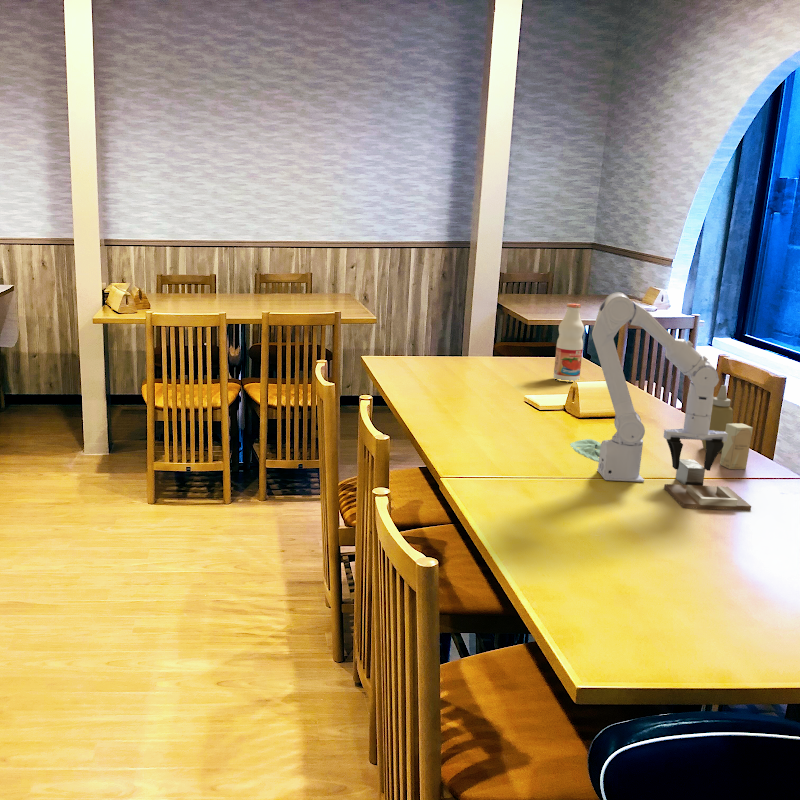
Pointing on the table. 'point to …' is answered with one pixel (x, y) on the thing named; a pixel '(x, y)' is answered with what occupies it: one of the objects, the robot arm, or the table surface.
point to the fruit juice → (569, 345)
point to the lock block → (690, 472)
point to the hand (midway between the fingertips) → (691, 468)
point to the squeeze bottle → (720, 413)
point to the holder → (706, 497)
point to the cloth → (588, 448)
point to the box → (736, 446)
